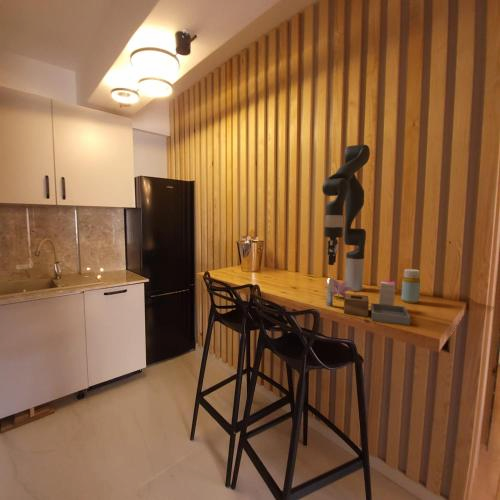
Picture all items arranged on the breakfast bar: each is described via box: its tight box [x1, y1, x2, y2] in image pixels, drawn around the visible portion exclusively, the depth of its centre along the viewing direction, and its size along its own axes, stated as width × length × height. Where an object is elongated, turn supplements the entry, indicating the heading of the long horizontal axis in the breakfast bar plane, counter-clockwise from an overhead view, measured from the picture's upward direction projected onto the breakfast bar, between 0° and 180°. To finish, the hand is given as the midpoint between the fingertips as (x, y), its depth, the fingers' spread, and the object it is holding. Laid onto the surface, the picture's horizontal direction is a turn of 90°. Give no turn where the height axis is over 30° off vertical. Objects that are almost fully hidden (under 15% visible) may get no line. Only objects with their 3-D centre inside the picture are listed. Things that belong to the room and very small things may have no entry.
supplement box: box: [378, 280, 397, 306], centre depth 118 cm, size 6×6×12 cm
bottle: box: [400, 268, 421, 305], centre depth 127 cm, size 7×7×15 cm
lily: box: [325, 278, 354, 301], centre depth 132 cm, size 12×12×10 cm
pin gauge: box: [325, 277, 334, 307], centre depth 121 cm, size 3×3×12 cm
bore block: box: [343, 293, 370, 317], centre depth 113 cm, size 9×9×6 cm
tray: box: [370, 302, 411, 326], centre depth 107 cm, size 14×13×3 cm
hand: (332, 263), depth 119 cm, fingers open, 8 cm apart
